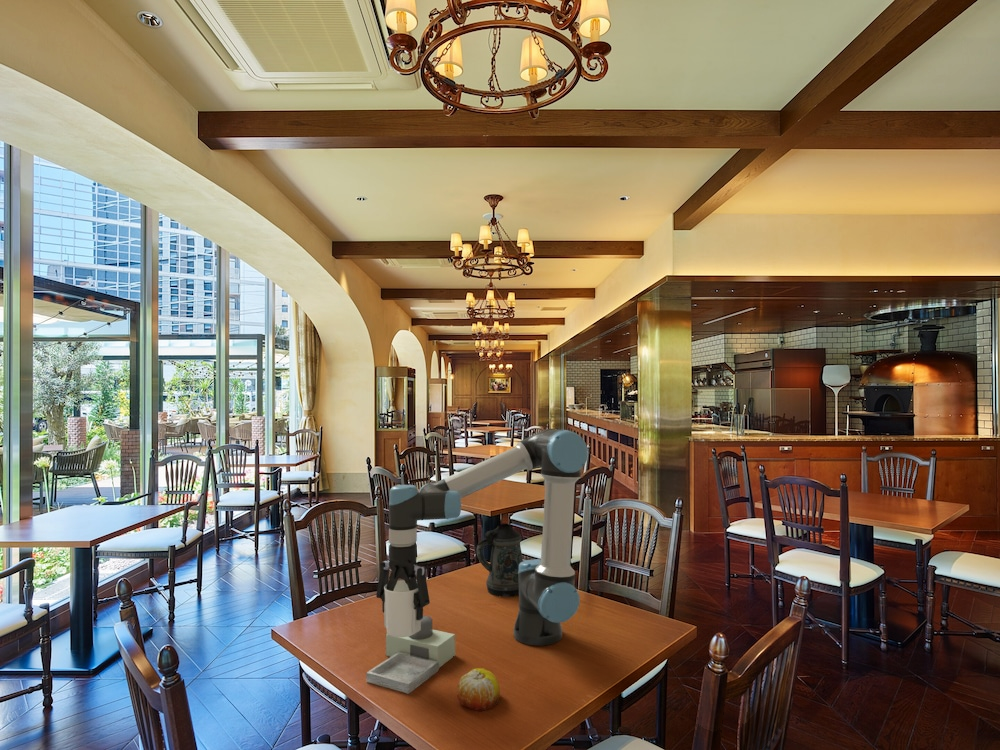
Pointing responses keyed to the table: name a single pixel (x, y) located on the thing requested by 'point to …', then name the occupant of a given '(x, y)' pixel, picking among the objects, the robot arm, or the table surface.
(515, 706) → the table surface
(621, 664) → the table surface
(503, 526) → the beer stein
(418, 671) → the gray square tray
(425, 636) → the push-button box
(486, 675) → the fruit
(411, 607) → the candle holder
